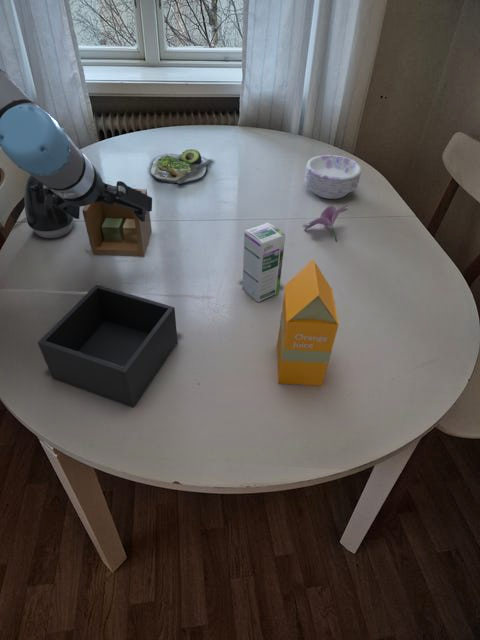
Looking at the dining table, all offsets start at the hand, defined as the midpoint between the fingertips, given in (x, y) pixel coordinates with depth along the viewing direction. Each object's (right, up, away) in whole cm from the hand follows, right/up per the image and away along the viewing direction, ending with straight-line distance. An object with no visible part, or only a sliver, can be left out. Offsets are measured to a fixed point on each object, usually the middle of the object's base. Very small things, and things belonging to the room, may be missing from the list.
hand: (110, 213), depth 89 cm
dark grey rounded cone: (-18, -1, +15) cm, 23 cm away
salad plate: (+9, +23, +42) cm, 49 cm away
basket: (+5, -29, -13) cm, 33 cm away
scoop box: (0, -5, +12) cm, 13 cm away
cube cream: (+2, -3, +13) cm, 13 cm away
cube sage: (-3, -2, +13) cm, 13 cm away
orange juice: (+37, -30, -13) cm, 50 cm away
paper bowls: (+53, +15, +36) cm, 66 cm away
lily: (+49, -1, +19) cm, 52 cm away
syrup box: (+31, -16, +2) cm, 35 cm away
